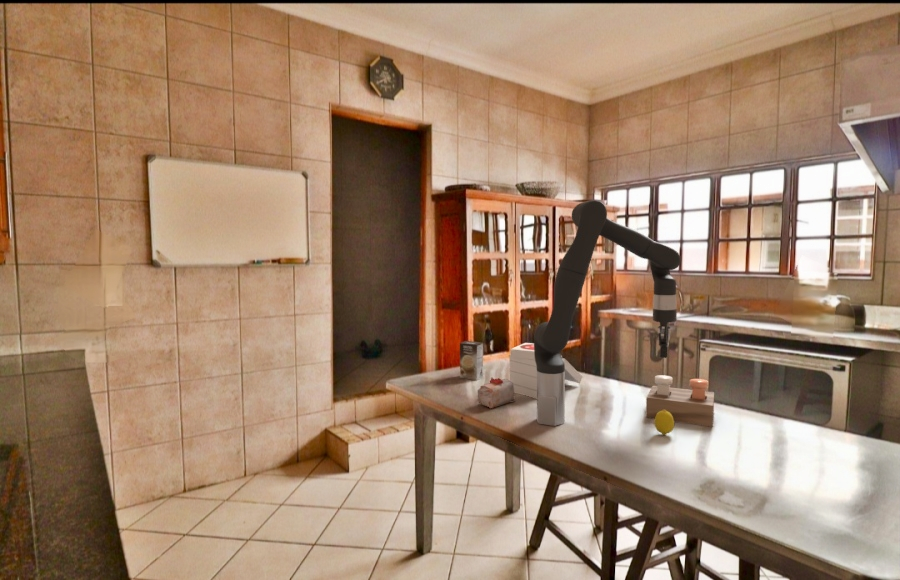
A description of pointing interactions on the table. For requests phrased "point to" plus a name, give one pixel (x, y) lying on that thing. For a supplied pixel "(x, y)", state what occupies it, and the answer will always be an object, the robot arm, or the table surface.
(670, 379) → the white rounded piece
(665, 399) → the walnut block
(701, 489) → the table surface
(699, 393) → the terracotta plunger
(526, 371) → the pizza boxes
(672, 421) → the lemon
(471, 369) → the coffee box
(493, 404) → the food item
